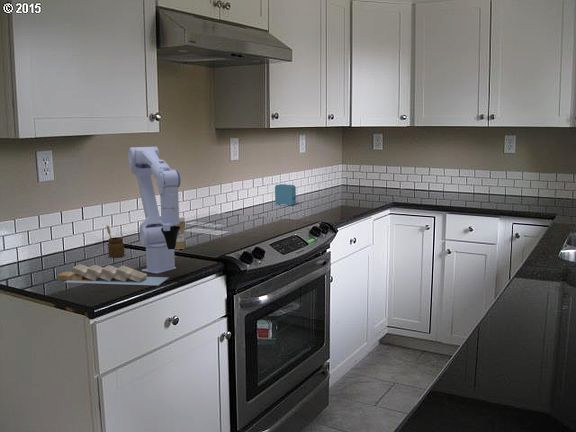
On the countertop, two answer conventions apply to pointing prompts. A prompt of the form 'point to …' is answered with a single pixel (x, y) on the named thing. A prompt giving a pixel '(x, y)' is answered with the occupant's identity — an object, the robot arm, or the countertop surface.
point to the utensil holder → (115, 245)
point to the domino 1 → (70, 276)
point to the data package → (285, 194)
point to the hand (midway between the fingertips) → (171, 249)
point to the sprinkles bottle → (181, 234)
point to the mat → (130, 282)
